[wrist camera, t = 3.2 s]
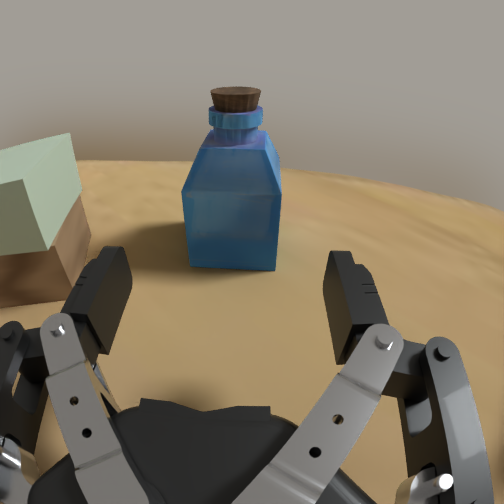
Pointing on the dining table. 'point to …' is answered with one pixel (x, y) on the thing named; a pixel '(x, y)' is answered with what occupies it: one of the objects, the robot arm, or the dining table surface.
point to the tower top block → (36, 193)
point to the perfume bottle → (234, 188)
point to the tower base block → (47, 265)
